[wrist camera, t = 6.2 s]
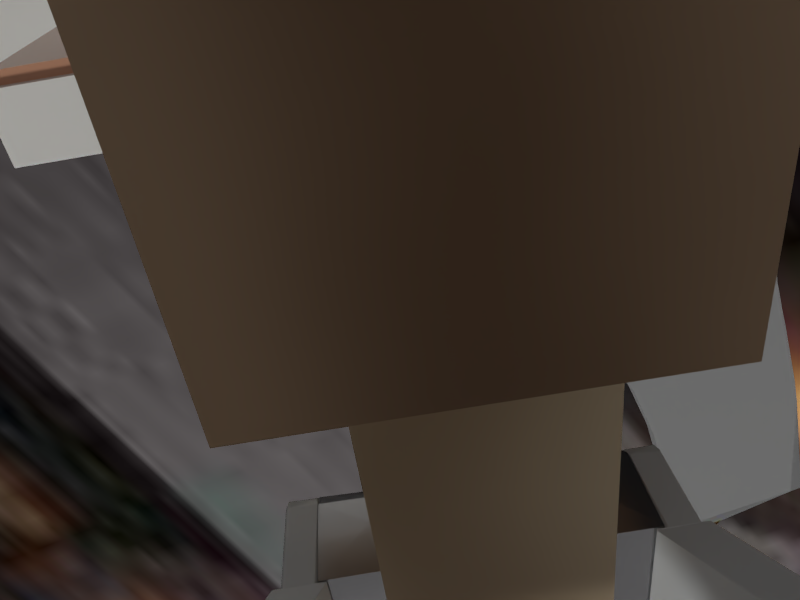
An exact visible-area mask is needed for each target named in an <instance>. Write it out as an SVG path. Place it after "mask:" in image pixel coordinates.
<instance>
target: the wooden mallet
mask: <svg viewBox="0 0 800 600" xmlns="http://www.w3.org/2000/svg"><path fill="white" fill-rule="evenodd" d="M47 2H48V4H49V7H50V10H51V13H52V15H53V18H54V21H55V24H56V26H57V29H58V32H59V35H60V37H61V40H62V43H63V46H64V48H65V51H66V54H67V57H68V59H69V62H70V65H71V68H72V70H73V73H74V76H75V78H76V81H77V84H78V87H79V89H80V92H81V95H82V98H83V100H84V103H85V106H86V109H87V111H88V114H89V117H90V120H91V122H92V125H93V128H94V131H95V133H96V136H97V139H98V142H99V144H100V147H101V150H102V153H103V155H104V158H105V161H106V164H107V166H108V169H109V172H110V175H111V177H112V180H113V183H114V186H115V188H116V191H117V194H118V197H119V199H120V202H121V205H122V208H123V210H124V213H125V216H126V219H127V221H128V224H129V227H130V230H131V232H132V235H133V238H134V241H135V243H136V246H137V249H138V252H139V254H140V257H141V260H142V263H143V265H144V268H145V271H146V274H147V276H148V279H149V282H150V285H151V287H152V290H153V293H154V296H155V298H156V301H157V304H158V307H159V309H160V312H161V315H162V318H163V320H164V323H165V326H166V328H167V331H168V334H169V337H170V339H171V342H172V345H173V348H174V350H175V353H176V356H177V359H178V361H179V364H180V367H181V370H182V372H183V375H184V378H185V381H186V383H187V386H188V389H189V392H190V394H191V397H192V400H193V403H194V405H195V408H196V411H197V414H198V416H199V419H200V422H201V425H202V427H203V430H204V433H205V436H206V438H207V441H208V444H209V447H210V448H215V447H221V446H228V445H234V444H240V443H247V442H253V441H259V440H266V439H272V438H279V437H285V436H291V435H298V434H304V433H310V432H317V431H323V430H329V429H336V428H342V427H348V426H349V430H350V435H351V439H352V444H353V448H354V453H355V458H356V462H357V467H358V471H359V476H360V480H361V485H362V489H363V494H364V498H365V503H366V508H367V512H368V517H369V521H370V526H371V530H372V535H373V539H374V544H375V548H376V553H377V558H378V562H379V567H380V571H381V576H382V580H383V585H384V589H385V594H386V598H387V600H614V585H615V565H616V545H617V524H618V504H619V484H620V463H621V443H622V423H623V402H624V383H628V382H635V381H641V380H647V379H654V378H660V377H666V376H673V375H679V374H685V373H692V372H698V371H705V370H711V369H717V368H724V367H730V366H736V365H743V364H749V363H755V362H762V357H763V351H764V345H765V340H766V334H767V328H768V322H769V317H770V311H771V305H772V300H773V294H774V288H775V282H776V277H777V271H778V265H779V260H780V254H781V248H782V242H783V237H784V231H785V225H786V220H787V214H788V208H789V203H790V197H791V191H792V185H793V180H794V174H795V168H796V163H797V157H798V151H799V145H800V0H47Z"/></svg>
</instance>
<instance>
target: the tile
mask: <svg viewBox="0 0 800 600" xmlns="http://www.w3.org/2000/svg"><path fill="white" fill-rule="evenodd" d="M0 138H1V140H2V142H3V145H4V147H5V149H6V151H7V153H8V155H9V157H10V159H11V161H12V163H13V165H14V168H19V167H25V166H31V165H37V164H42V163H48V162H54V161H60V160H66V159H72V158H77V157H83V156H89V155H95V154H101V153H102V150H101V147H100V144H99V142H98V139H97V136H96V133H95V131H94V128H93V125H92V122H91V120H90V117H89V114H88V111H87V109H86V106H85V103H84V100H83V98H82V95H81V92H80V89H79V87H78V84H77V81H76V78H75V76H74V73H73V70H72V68H71V65H70V62H69V59H68V57H67V54H66V51H65V48H64V46H63V43H62V40H61V37H60V35H59V32H58V29H57V27H55V28H54V29H52V30H50V31H49V32H47V33H46V34H44V35H43V36H41V37H39V38H38V39H36V40H35V41H33V42H31V43H30V44H28V45H27V46H25V47H24V48H22V49H20V50H19V51H17V52H16V53H14V54H13V55H11V56H9V57H8V58H6V59H5V60H3V61H2V62H0Z"/></svg>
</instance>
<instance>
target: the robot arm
mask: <svg viewBox="0 0 800 600" xmlns="http://www.w3.org/2000/svg"><path fill="white" fill-rule="evenodd" d="M265 600H387V598H386V594H385V589H384V585H383V580H382V576H381V571H380V567H379V562H378V558H377V553H376V548H375V544H374V539H373V535H372V530H371V526H370V521H369V517H368V512H367V508H366V503H365V498H364V494H363V492H357V493H350V494H342V495H334V496H327V497H320V498H315V499H308V500H301V501H293V502H289V504H288V507H287V509H286V519H285V535H284V551H283V567H282V583H281V589H276V590H272V591H271V592H270V594H269V595H268V597H267V598H266V599H265ZM614 600H800V576H799V575H797V574H796V573H794V572H793V571H791V570H789V569H788V568H786V567H785V566H783V565H781V564H780V563H778V562H776V561H775V560H773V559H772V558H770V557H768V556H767V555H765V554H764V553H762V552H760V551H759V550H757V549H755V548H754V547H752V546H751V545H749V544H747V543H746V542H744V541H743V540H741V539H739V538H738V537H736V536H735V535H733V534H731V533H730V532H728V531H726V530H725V529H723V528H722V527H720V526H718V525H717V524H715V523H714V522H712V521H704V522H701V520H700V519H699V517H698V515H697V513H696V512H695V510H694V508H693V507H692V505H691V503H690V501H689V500H688V498H687V496H686V494H685V493H684V491H683V489H682V487H681V486H680V484H679V482H678V480H677V479H676V477H675V475H674V474H673V472H672V470H671V468H670V467H669V465H668V463H667V461H666V460H665V458H664V456H663V454H662V453H661V451H660V449H659V448H657V447H656V446H655V445H650V446H644V447H638V448H631V449H625V450H623V451H622V450H621V463H620V484H619V504H618V524H617V545H616V565H615V585H614Z"/></svg>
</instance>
